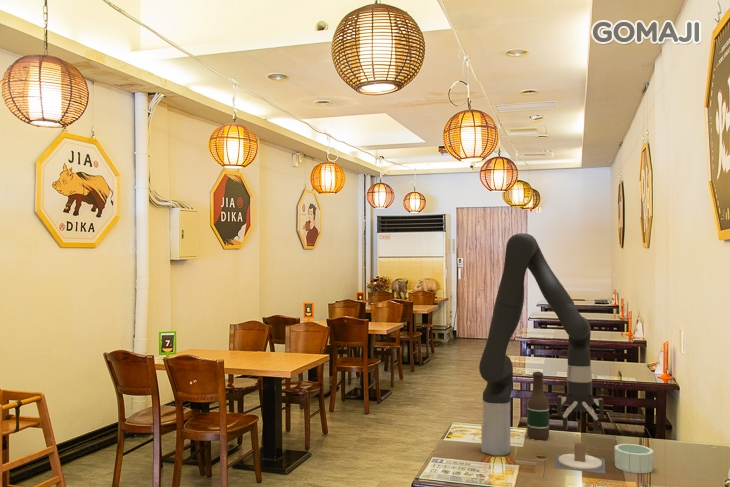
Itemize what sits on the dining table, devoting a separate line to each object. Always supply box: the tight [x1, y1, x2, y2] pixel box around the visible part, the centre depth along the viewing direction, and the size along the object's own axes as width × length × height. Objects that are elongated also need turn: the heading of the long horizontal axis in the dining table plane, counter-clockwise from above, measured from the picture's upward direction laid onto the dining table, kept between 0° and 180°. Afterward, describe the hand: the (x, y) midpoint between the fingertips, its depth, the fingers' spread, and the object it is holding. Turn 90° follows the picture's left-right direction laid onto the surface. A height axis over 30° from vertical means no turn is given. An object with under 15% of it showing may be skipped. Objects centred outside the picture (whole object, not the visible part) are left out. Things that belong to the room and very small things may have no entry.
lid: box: [559, 442, 602, 470], centre depth 201 cm, size 13×13×6 cm
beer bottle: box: [526, 371, 550, 441], centre depth 231 cm, size 8×8×24 cm
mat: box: [554, 453, 606, 474], centre depth 201 cm, size 15×15×1 cm
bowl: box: [614, 443, 654, 474], centre depth 198 cm, size 11×11×6 cm
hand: (580, 430), depth 201 cm, fingers open, 8 cm apart
